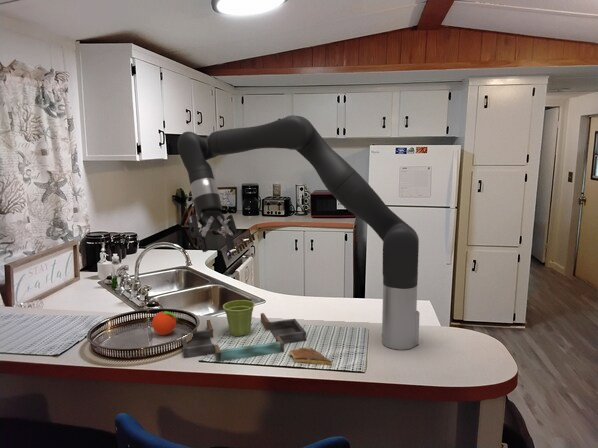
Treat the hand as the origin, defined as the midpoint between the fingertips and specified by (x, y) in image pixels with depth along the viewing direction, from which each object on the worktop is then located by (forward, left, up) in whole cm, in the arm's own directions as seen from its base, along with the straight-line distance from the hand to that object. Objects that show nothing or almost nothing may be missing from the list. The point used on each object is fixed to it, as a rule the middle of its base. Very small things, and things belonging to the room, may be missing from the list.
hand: (218, 250), depth 128 cm
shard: (-21, +19, -27) cm, 39 cm away
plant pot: (-6, -4, -27) cm, 28 cm away
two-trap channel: (-6, +1, -26) cm, 27 cm away
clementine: (+15, -10, -27) cm, 32 cm away
